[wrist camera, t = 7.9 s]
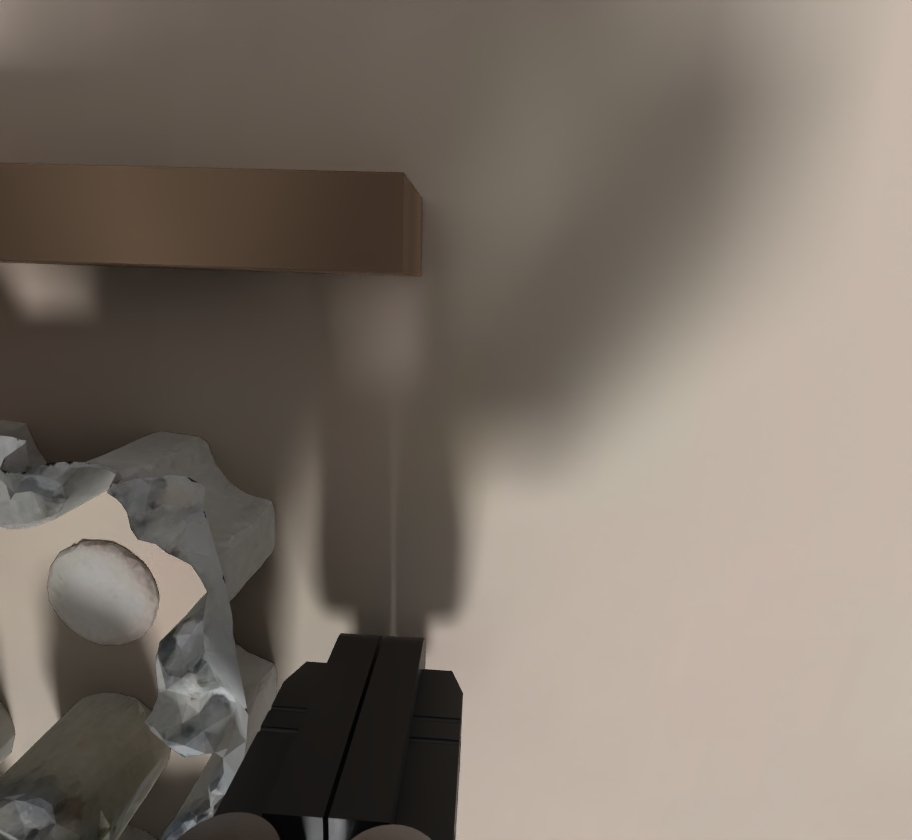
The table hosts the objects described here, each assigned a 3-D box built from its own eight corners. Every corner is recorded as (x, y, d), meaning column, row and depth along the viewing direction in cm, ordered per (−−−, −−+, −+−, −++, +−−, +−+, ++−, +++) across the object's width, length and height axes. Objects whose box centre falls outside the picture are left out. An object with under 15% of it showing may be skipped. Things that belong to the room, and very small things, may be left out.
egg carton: (-76, 384, 11) (-420, 440, 7) (320, 437, 10) (216, 529, 6) (-34, 840, 13) (-267, 1085, 9) (288, 889, 13) (197, 1163, 9)
